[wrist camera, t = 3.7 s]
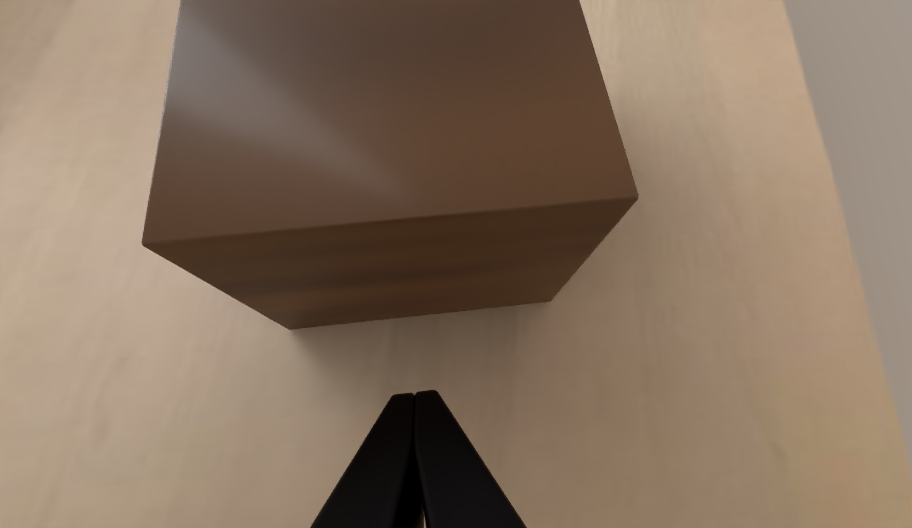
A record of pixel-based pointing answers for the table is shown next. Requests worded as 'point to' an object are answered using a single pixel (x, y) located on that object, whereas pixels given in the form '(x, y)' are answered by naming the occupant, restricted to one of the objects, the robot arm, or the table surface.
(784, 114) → the table surface
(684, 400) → the table surface
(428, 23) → the box
